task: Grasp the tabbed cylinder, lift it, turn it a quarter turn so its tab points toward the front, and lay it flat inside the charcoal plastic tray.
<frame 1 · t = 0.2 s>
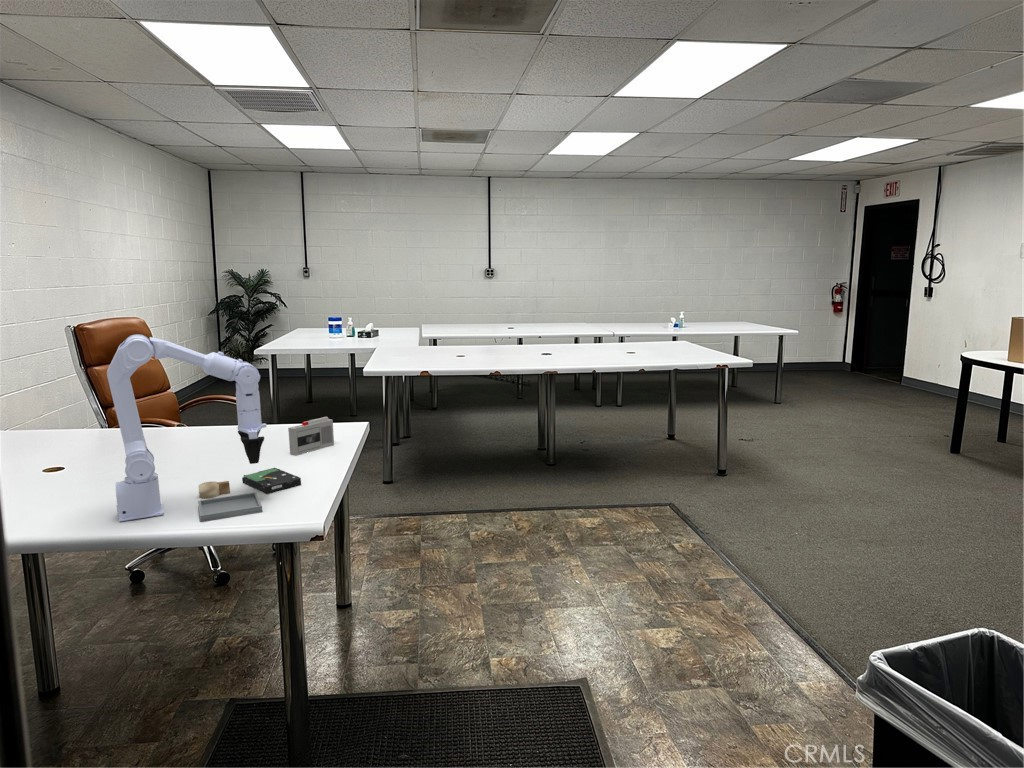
hand: (252, 459, 177), 10 cm above the table, tool pointing down, fingers open, 7 cm apart
tabbed cylinder: (209, 495, 179), on the table
disk drive: (271, 486, 188), on the table
cassette player: (312, 450, 223), on the table
tray: (230, 509, 169), on the table
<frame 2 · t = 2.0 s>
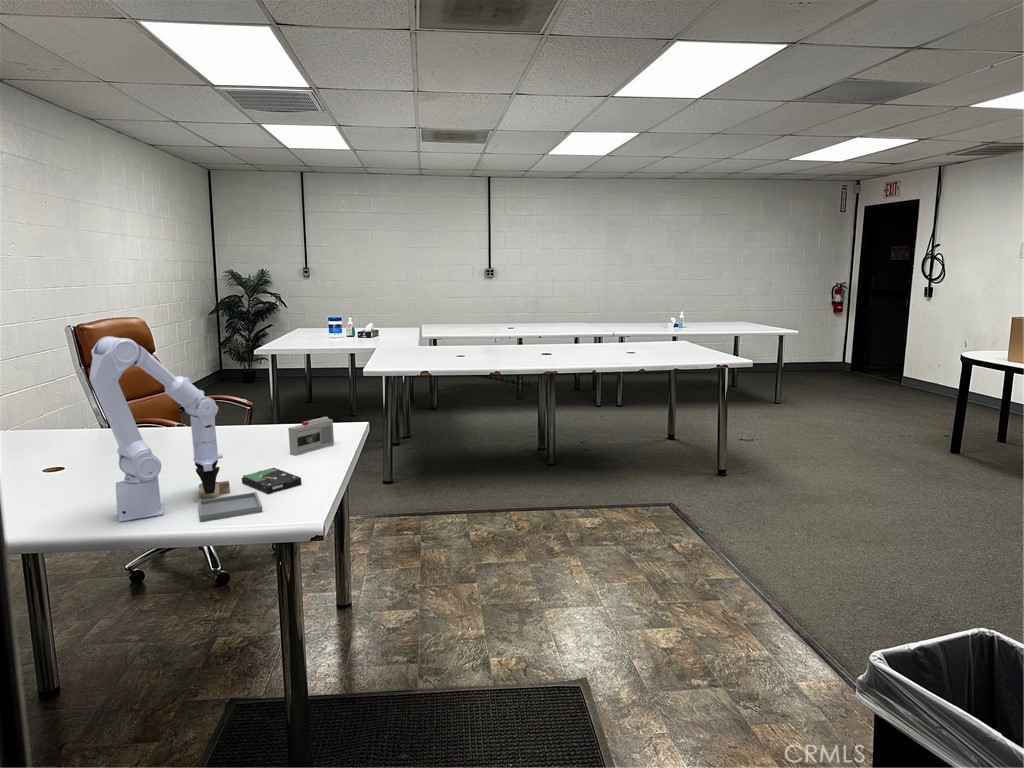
hand: (209, 490, 179), 1 cm above the table, tool pointing down, fingers closed on tabbed cylinder, 5 cm apart
tabbed cylinder: (209, 495, 179), on the table, touching gripper
everything else where it was.
when the fingers open (3 cm above the table, at t = 7.2 s): tabbed cylinder stays where it is, resting on tray.
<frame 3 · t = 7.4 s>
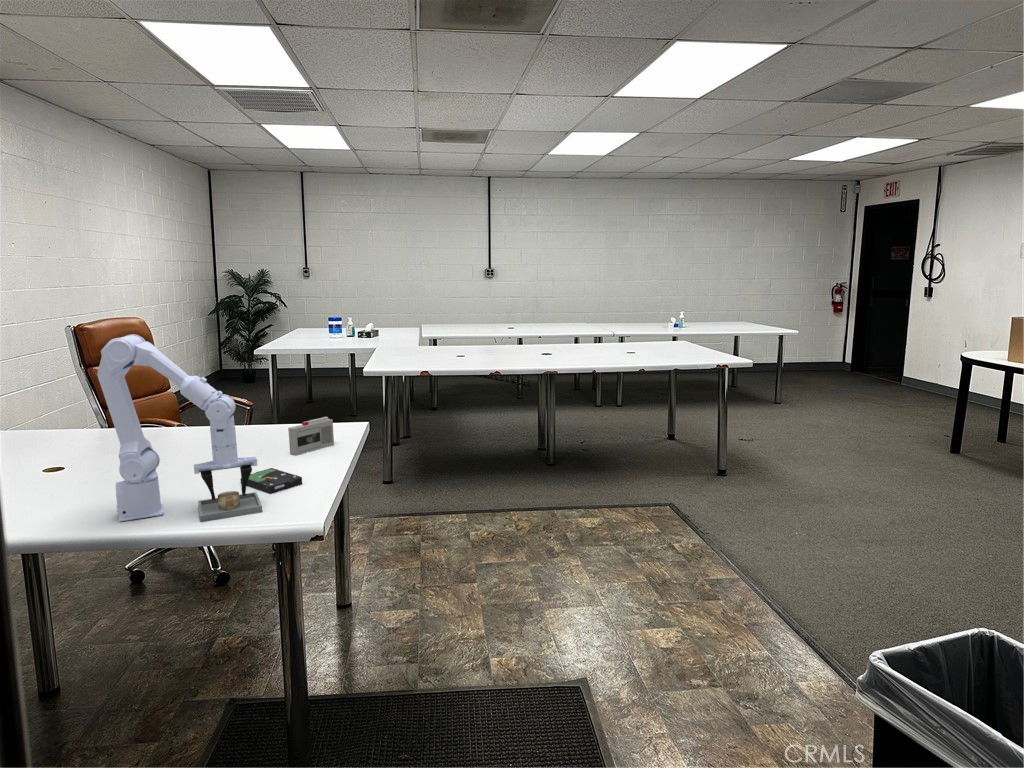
hand: (228, 496, 170), 3 cm above the table, tool pointing down, fingers open, 6 cm apart
tabbed cylinder: (229, 505, 170), resting on tray
everything else where it was.
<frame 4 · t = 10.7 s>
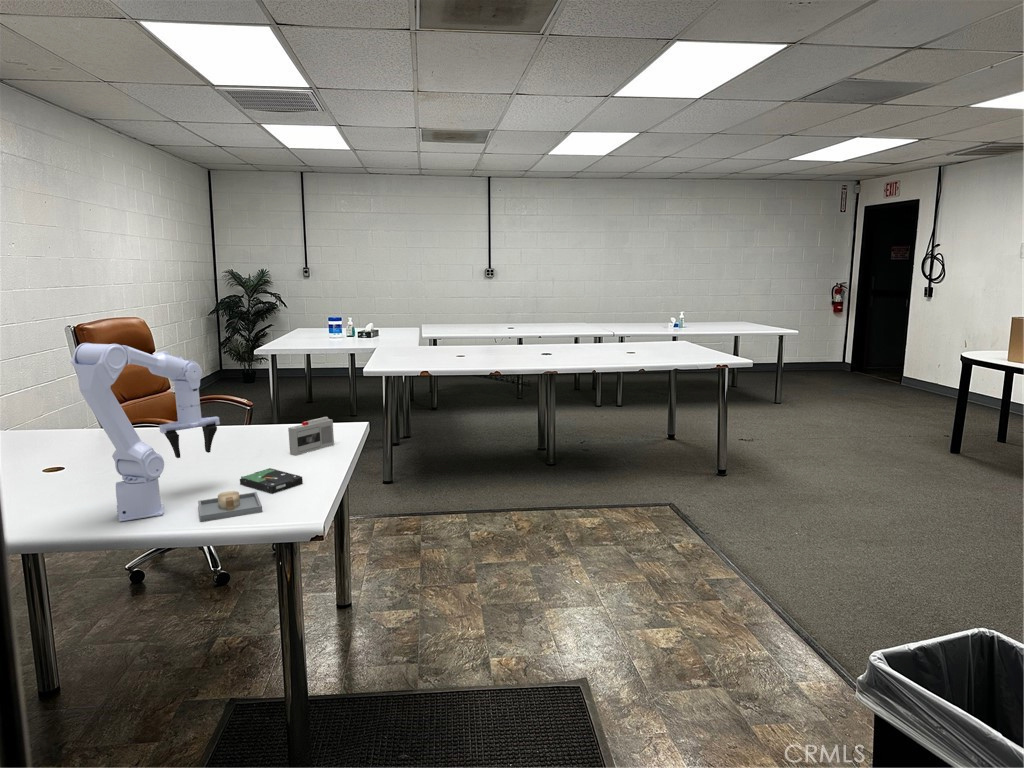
hand: (193, 454, 181), 10 cm above the table, tool pointing down, fingers open, 7 cm apart
nothing on the table moved.
at the end: tabbed cylinder inside the target area on the tray (0.1 cm from its centre), point 0.5 cm above the tray's base; tabbed cylinder tilted 0°; the gripper is holding nothing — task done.
